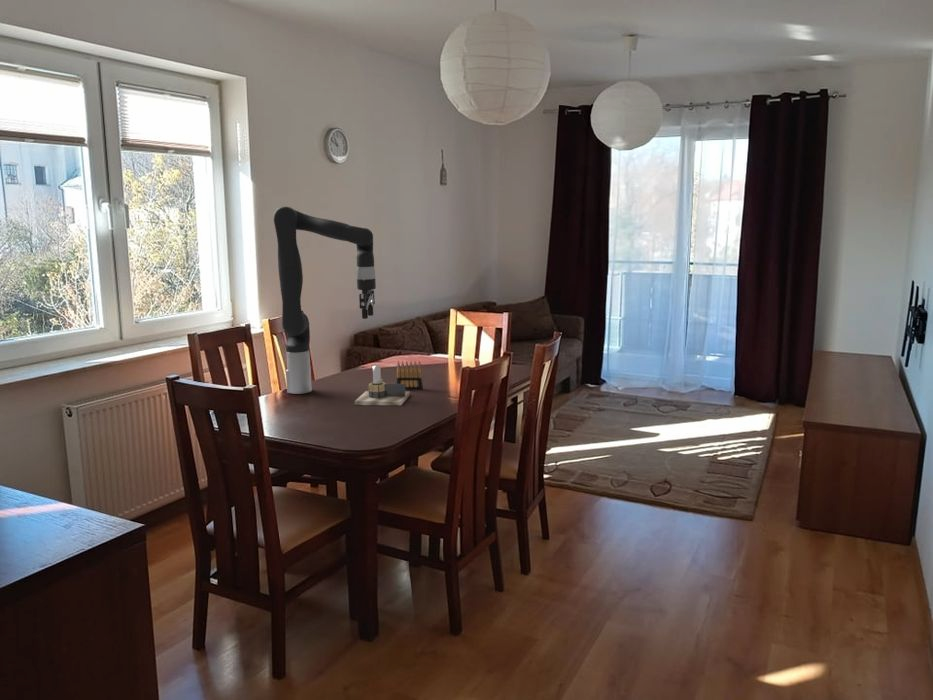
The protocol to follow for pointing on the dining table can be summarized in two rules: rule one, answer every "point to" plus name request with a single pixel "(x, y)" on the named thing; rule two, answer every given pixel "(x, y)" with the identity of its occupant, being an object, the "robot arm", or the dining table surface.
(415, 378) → the ammunition clip
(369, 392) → the base plate with nut
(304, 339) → the robot arm
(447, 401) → the dining table surface
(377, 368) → the hinge pin
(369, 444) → the dining table surface
